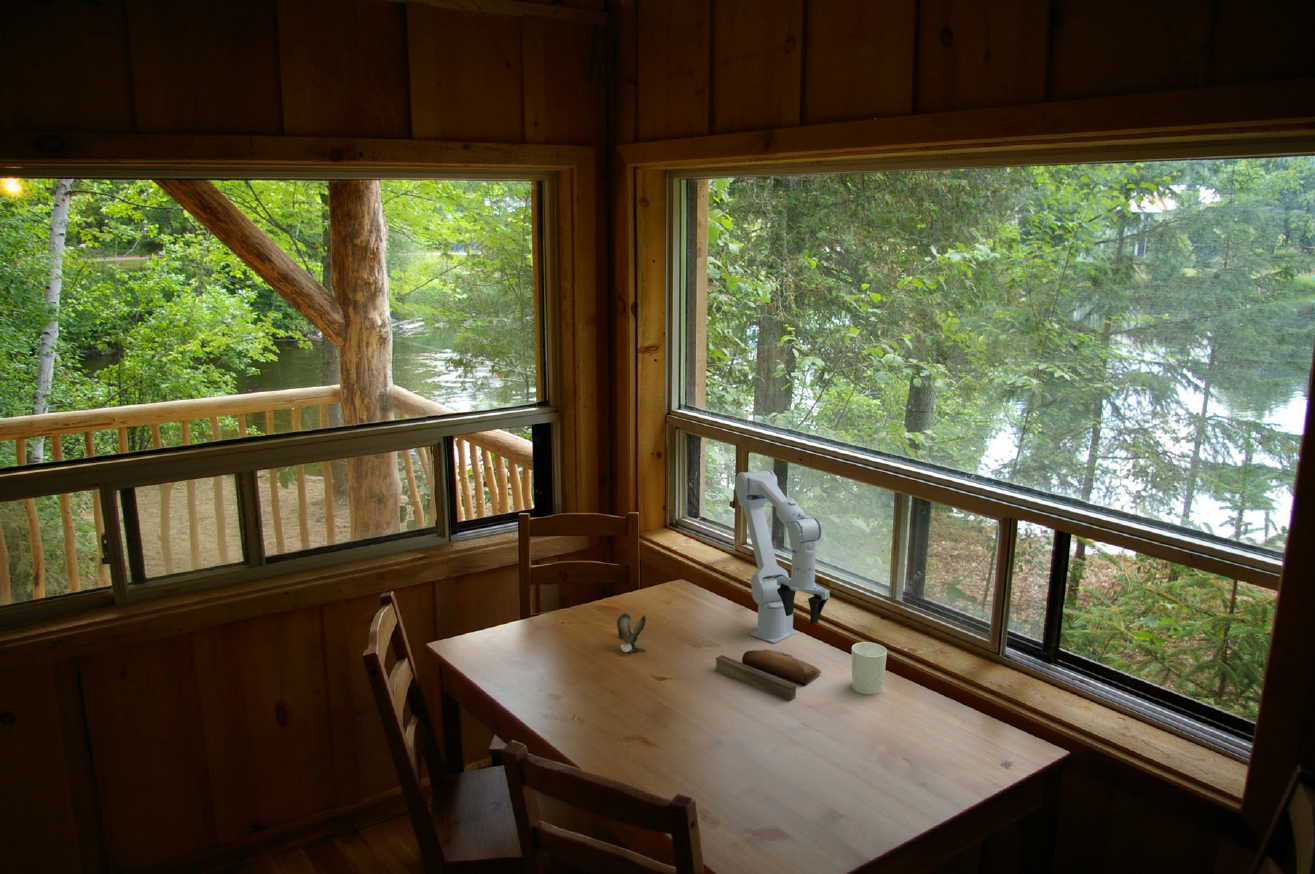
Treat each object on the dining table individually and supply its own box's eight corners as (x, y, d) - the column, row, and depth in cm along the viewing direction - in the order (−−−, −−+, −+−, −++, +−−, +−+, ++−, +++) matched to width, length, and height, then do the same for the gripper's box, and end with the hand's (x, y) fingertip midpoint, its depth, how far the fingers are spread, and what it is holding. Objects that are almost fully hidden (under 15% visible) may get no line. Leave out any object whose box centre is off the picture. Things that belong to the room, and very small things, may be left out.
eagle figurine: (647, 644, 229) (647, 611, 228) (646, 656, 222) (646, 622, 221) (617, 644, 230) (617, 611, 228) (615, 655, 223) (615, 622, 221)
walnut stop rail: (721, 667, 216) (721, 654, 215) (796, 698, 201) (796, 684, 200) (715, 670, 215) (715, 657, 214) (790, 702, 199) (790, 688, 199)
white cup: (845, 692, 204) (847, 652, 202) (855, 679, 211) (856, 639, 209) (880, 700, 200) (882, 659, 198) (888, 686, 207) (890, 646, 205)
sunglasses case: (823, 669, 212) (815, 654, 208) (811, 694, 209) (802, 679, 205) (760, 649, 223) (751, 634, 219) (747, 672, 220) (738, 658, 216)
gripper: (769, 563, 219) (768, 615, 222) (818, 577, 209) (816, 632, 212) (787, 557, 224) (785, 607, 227) (835, 570, 214) (833, 623, 216)
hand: (801, 619), depth 219 cm, fingers open, 7 cm apart
